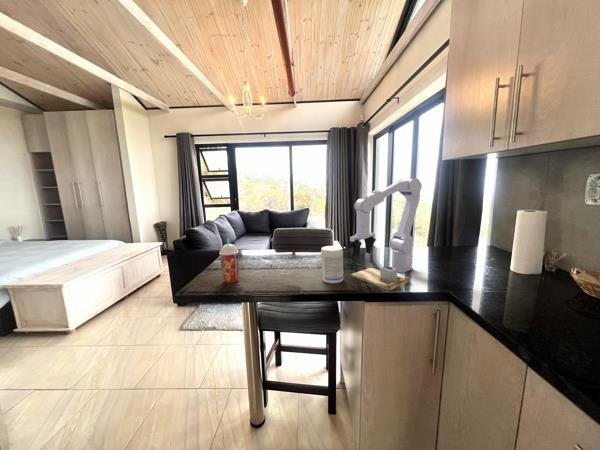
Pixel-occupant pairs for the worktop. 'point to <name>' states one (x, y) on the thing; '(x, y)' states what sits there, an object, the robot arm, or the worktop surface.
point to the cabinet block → (388, 273)
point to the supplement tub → (332, 264)
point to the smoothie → (229, 262)
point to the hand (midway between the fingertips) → (362, 254)
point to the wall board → (379, 279)
